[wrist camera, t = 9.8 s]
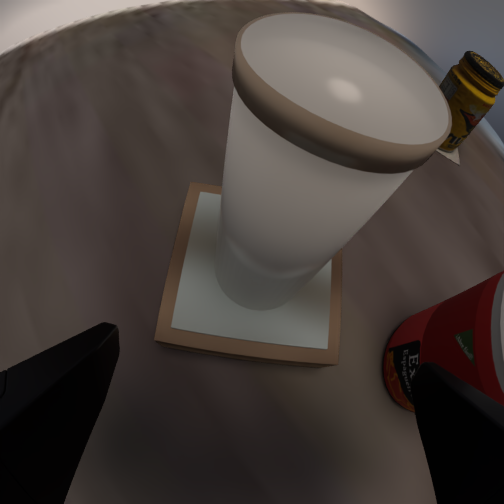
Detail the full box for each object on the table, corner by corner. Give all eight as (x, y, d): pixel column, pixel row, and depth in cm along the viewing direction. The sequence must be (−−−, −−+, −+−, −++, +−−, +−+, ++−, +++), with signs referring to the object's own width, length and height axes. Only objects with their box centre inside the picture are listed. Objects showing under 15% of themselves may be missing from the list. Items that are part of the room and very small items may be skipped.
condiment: (458, 166, 30) (518, 99, 19) (399, 130, 30) (452, 49, 19) (454, 130, 33) (502, 69, 22) (402, 98, 33) (443, 27, 22)
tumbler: (267, 332, 16) (419, 200, 4) (193, 269, 17) (182, 47, 5) (321, 262, 18) (463, 95, 6) (252, 208, 19) (313, 2, 7)
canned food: (360, 360, 19) (479, 327, 9) (424, 294, 22) (526, 233, 12) (414, 434, 18) (534, 440, 8) (469, 362, 20) (574, 332, 10)
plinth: (319, 367, 19) (339, 364, 16) (161, 346, 18) (153, 339, 15) (326, 230, 23) (342, 207, 20) (191, 206, 22) (190, 179, 19)
